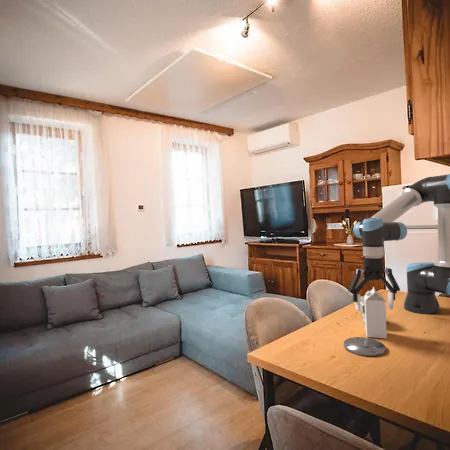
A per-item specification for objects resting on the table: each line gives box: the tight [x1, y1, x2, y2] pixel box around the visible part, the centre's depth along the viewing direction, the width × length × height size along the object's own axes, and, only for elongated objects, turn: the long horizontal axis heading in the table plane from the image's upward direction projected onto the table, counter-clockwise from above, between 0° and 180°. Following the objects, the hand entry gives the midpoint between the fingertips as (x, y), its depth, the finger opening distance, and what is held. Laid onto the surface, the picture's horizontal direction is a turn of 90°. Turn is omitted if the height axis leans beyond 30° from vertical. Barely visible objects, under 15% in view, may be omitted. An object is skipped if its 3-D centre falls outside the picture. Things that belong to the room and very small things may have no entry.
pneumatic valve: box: [359, 295, 365, 324], centre depth 141 cm, size 6×12×12 cm, turn 174°
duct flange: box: [343, 336, 386, 358], centre depth 116 cm, size 14×14×1 cm
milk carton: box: [363, 286, 387, 339], centre depth 127 cm, size 7×7×19 cm
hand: (374, 309), depth 127 cm, fingers open, 13 cm apart
